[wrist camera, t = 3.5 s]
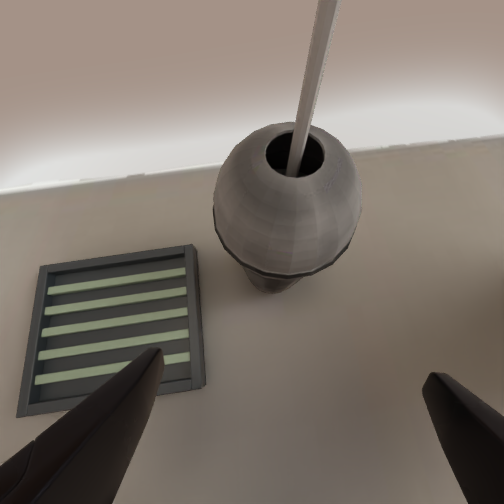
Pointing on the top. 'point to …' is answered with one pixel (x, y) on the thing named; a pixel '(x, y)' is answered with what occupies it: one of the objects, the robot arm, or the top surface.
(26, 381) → the drying rack
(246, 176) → the beverage cup
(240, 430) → the top surface
